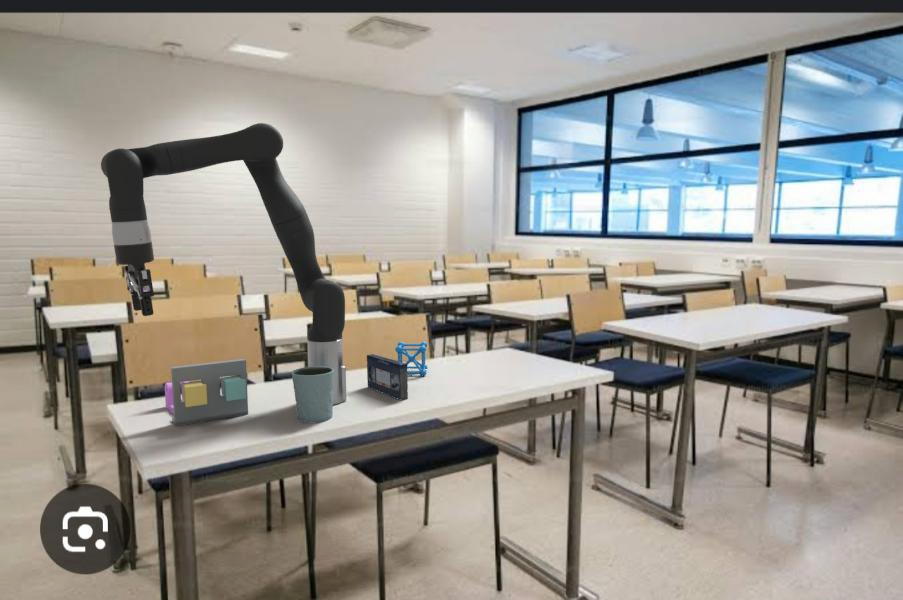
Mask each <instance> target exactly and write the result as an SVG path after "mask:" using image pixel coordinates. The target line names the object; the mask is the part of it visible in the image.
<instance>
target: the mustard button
mask: <svg viewBox="0 0 903 600" xmlns="http://www.w3.org/2000/svg"><path fill="white" fill-rule="evenodd" d="M181 383H182V382H181ZM182 397H183V400H184V402H185V406H186V407H191V406H197V405H204V404H207V389H206V384H202V383H201V380H194V381H190V382H187V383H182V388H181V398H182Z"/></svg>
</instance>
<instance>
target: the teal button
mask: <svg viewBox="0 0 903 600" xmlns="http://www.w3.org/2000/svg"><path fill="white" fill-rule="evenodd" d="M220 391H221V395H223V396H224V397H226V401H231V400H238V399H244V398H246V380H245V379H241V378H240V377H239V375H233V376H225V377H220Z"/></svg>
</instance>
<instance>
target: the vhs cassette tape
mask: <svg viewBox="0 0 903 600" xmlns="http://www.w3.org/2000/svg"><path fill="white" fill-rule="evenodd" d="M405 363H406V362H403V361H402V362H399V361H398V360H396V359H392V358H388V357H384V356H381V355H377V354H374V353H373V354H366V371H367V372H366V377H367V378H366V379H367V388H369V387H370V388H369V389H371V388H373V389H372V390H374V389H375V390H374V391H376V390H378V391H377V392H379V391H380V392H379V393H381V392H383V393H382V394H384V393H385V394H384V395H386V394H388V395H387V396H389V395H390V396H389V397H392V396H393V397H392V398H394V397H395V399H397V398H398V399H397V400H399V399H403V400H405V398H406V399H408V398H409V395H408V394H409V393H408V392H409V391H408V389H409V387H408V386H409V385H408V380H409V378H408V374H407V372H408V369H407V366H408V365H407V364H405Z"/></svg>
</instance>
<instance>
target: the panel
mask: <svg viewBox="0 0 903 600" xmlns="http://www.w3.org/2000/svg"><path fill="white" fill-rule="evenodd" d="M170 370H171V371H170V372H171V382H172V392H173V411H174V413H173V416H172V417H171V421H172V423H173V425H174V426H175V427H177V426H178V425H179V426H184V424H185V425H191V424H195V423H197V422H198V423H201V422H202V421H204V422H208V420H210V421H214V420H213V419H216V420H220V418H222V419H227V418H226V417H228V418H233V417H232V416H234V417H239V416H238V415H240V416H244V415H243V414H246V415H249V403H248V402H249V400H248V399H249V397H248V396H249V395H248V377H247V375H248V374H247V373H248V372H247V360H246V358H241V359H231V360H222V361H212V362H206V363H205V362H204V363H195V364H184V365H179V366H178V365H177V366H176V365H175V366H171V367H170ZM233 376H238V377H240V378H241V379H245V380H246V398H244V399H238V400H231V401H226V397H224V396H223V395H222V394H221V378H226V377H233ZM186 381H190V382H194V381H200V382H201V383H202V384H206V389H207V404H204V405H197V406H191V407H186V406H185V402H184V400H182V388H181V383H182V382H186ZM190 423H191V424H190Z"/></svg>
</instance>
